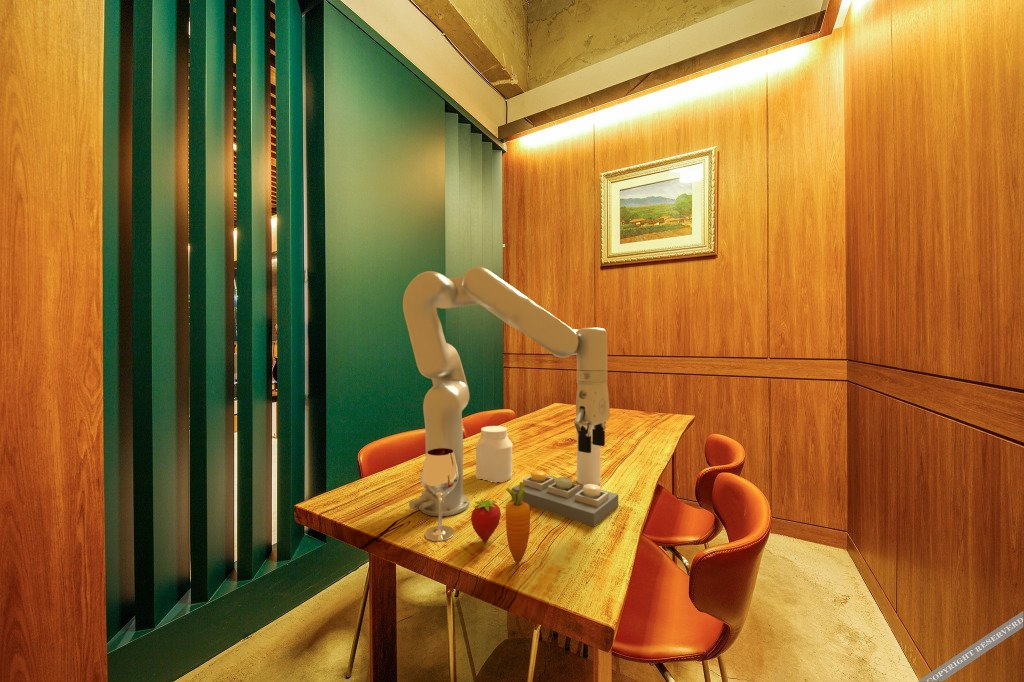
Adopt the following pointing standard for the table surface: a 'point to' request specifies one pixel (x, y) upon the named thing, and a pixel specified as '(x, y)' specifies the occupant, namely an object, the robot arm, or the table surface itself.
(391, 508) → the table surface
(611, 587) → the table surface
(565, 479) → the sage button
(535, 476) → the amber button
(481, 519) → the strawberry
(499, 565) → the table surface
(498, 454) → the jar
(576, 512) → the button panel
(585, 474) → the cylindrical container
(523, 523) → the carrot
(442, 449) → the wineglass
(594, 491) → the cream button
